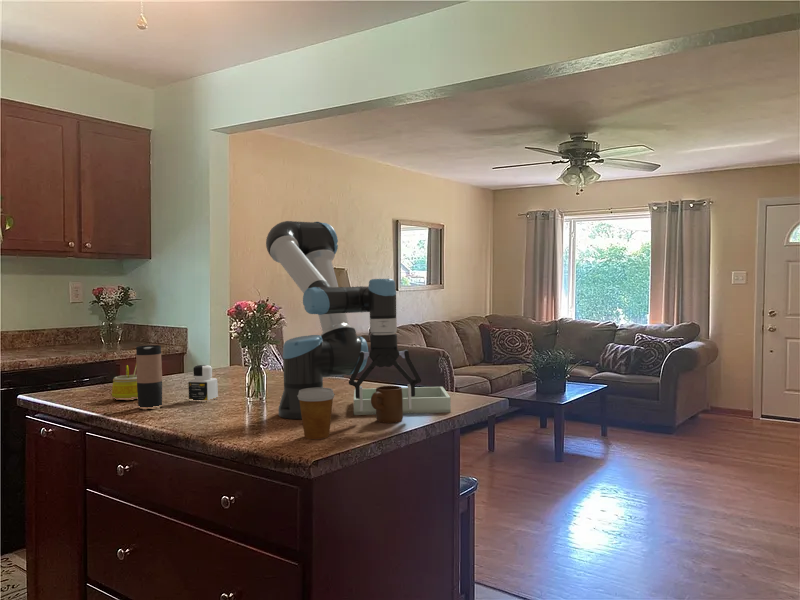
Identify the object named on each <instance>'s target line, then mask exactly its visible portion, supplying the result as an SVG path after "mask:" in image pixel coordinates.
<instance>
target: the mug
mask: <svg viewBox="0 0 800 600" xmlns="http://www.w3.org/2000/svg"><path fill="white" fill-rule="evenodd" d="M375 388H376V392H375V393H373V394H372V397H371V404H372V407H373V408H374V409H376V414H375V418H376V421H377V422H378V423H383V424H396V423H400V422H401V421H402V420H403V415H404V414H403V396H402V388H403V387H401V386H398V385H383V386H382V385H381V386H378V387H375Z"/></svg>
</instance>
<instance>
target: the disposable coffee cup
mask: <svg viewBox="0 0 800 600" xmlns="http://www.w3.org/2000/svg"><path fill="white" fill-rule="evenodd" d="M335 396H336V395H335V393H334V390H333V388H330V387H323V388H306V389H301V390H299V394H298V395H297V397H298V399H299V402H300V408H301V415H302V419H301V421H302V426H303V435H304V439H308V440H323V439H327V438H329V437H330V431H331V422H332V421H331V420H332V411H333V401H334V397H335Z"/></svg>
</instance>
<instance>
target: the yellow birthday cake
mask: <svg viewBox="0 0 800 600" xmlns="http://www.w3.org/2000/svg"><path fill="white" fill-rule="evenodd" d="M136 372H137V363H135V367H134V371H133V374H130V369H129V365H128V364H127V365H125V375H124V374H123V375H118V376H114V377H113V379H112V385H111V387H112V388H111V397H112V398H113V397H115V398H131V397H138V393H137V374H136Z"/></svg>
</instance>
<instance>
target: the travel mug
mask: <svg viewBox="0 0 800 600" xmlns="http://www.w3.org/2000/svg"><path fill="white" fill-rule="evenodd" d="M135 348H136V349H135V351H136V352H135V354H136V355H135V356H136V357H135V358H136V363H137V367H136V375H137V393H138V399H137V404H138V405H137V406H140V407H153V406H159V405H162V406H163V370H162V369H163V367H162V366H163V364H162V363H163V361H162V346H161V345H157V344H155V345H154V344H151V345H138V346H136V347H135ZM136 363H135V364H136Z"/></svg>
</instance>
